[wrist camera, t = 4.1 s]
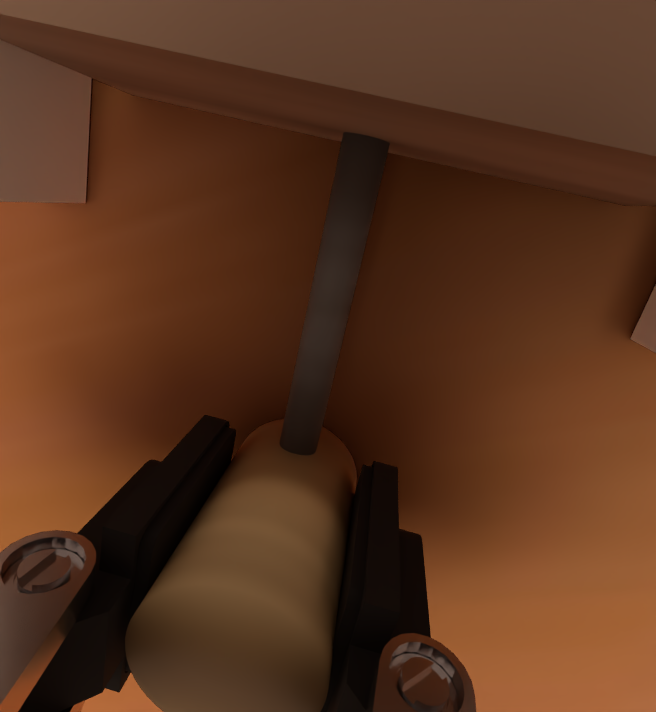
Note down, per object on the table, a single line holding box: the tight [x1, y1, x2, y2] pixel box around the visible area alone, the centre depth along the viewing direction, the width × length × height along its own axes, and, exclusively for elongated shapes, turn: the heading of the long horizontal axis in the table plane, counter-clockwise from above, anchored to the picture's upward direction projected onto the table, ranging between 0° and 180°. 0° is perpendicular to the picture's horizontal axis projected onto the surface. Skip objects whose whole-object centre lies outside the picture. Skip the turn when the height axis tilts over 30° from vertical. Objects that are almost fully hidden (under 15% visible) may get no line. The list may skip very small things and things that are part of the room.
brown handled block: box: [0, 0, 656, 712], centre depth 7 cm, size 18×10×5 cm, turn 168°
